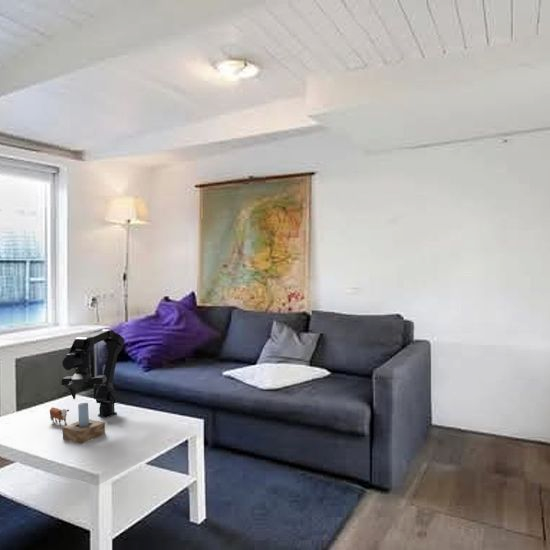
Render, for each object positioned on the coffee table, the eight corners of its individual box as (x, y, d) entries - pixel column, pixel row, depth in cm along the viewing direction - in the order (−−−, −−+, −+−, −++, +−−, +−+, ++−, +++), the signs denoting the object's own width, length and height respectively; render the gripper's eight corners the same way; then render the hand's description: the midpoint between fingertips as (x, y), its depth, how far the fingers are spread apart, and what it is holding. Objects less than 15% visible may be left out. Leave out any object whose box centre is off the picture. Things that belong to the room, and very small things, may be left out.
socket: (86, 429, 207) (86, 418, 206) (105, 433, 201) (104, 422, 201) (62, 438, 196) (62, 427, 196) (81, 443, 190) (81, 431, 190)
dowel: (87, 433, 201) (86, 402, 201) (90, 436, 198) (89, 404, 198) (78, 436, 199) (77, 404, 199) (80, 438, 196) (79, 406, 195)
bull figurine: (62, 428, 208) (62, 411, 208) (48, 422, 216) (47, 405, 216) (71, 425, 212) (71, 408, 211) (57, 420, 220) (56, 403, 219)
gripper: (54, 369, 201) (56, 404, 201) (97, 368, 201) (98, 403, 202) (65, 363, 212) (66, 397, 212) (106, 362, 212) (107, 396, 213)
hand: (84, 398), depth 209 cm, fingers open, 9 cm apart
